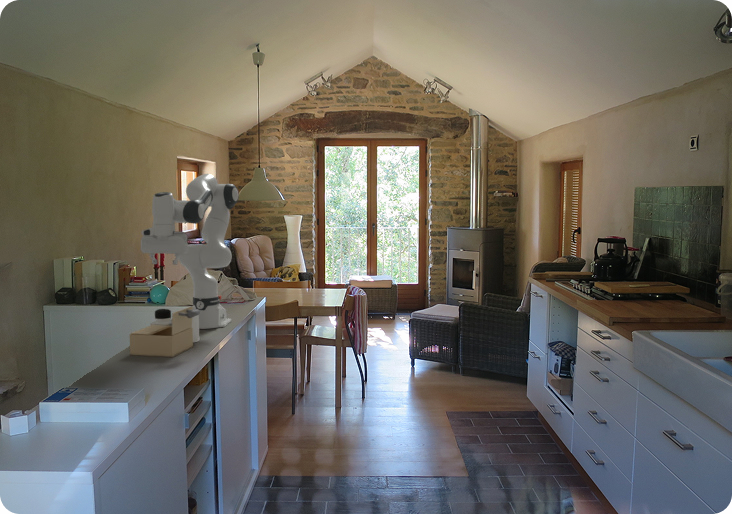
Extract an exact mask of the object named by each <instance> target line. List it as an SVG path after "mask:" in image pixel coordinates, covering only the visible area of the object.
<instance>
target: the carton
mask: <svg viewBox="0 0 732 514" xmlns="http://www.w3.org/2000/svg"><path fill="white" fill-rule="evenodd" d="M193 347H194V343H193V329H192V328H188V329H186V330H184V331H181V332H179V333H177V334H174V335H172V327H171V326H169V325H168V326H164V325H151V326H150V325H149V326H146V327H143V328H141V329H138V330H135V331H132V332H130V334H129V354H130V356H132V355H133V356H147V357H148V356H149V357H165V358H173V357H174V358H175V357H176V356H178V355H180V354H182V353H184V352H186V351H188V350H190V349H192V348H193Z"/></svg>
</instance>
